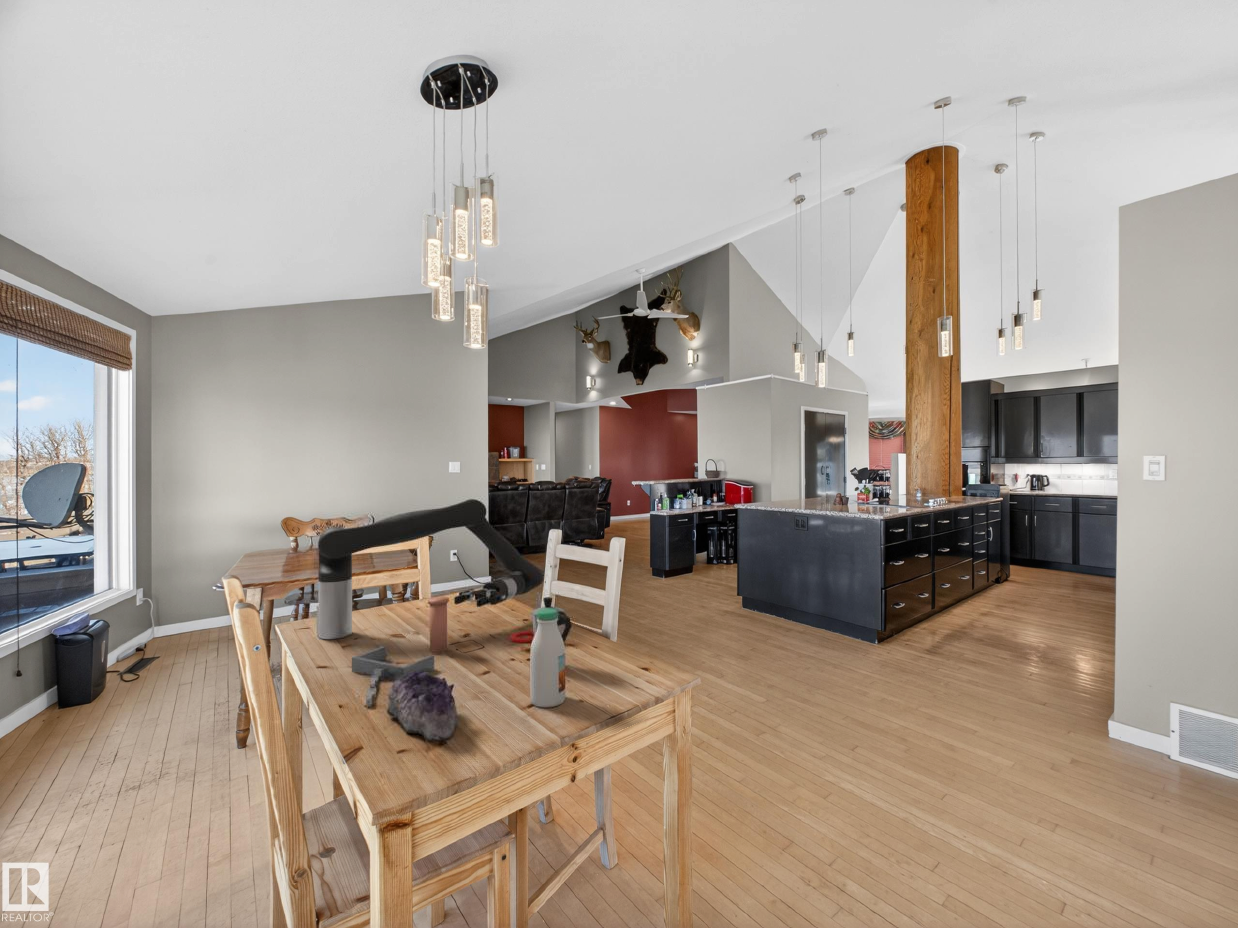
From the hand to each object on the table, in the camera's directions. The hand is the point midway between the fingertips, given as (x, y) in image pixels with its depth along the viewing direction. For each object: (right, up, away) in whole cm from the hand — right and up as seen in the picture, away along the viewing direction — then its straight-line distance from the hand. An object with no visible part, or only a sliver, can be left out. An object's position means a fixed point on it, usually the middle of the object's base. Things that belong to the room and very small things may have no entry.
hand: (466, 602), depth 165 cm
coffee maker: (+28, -11, -24) cm, 39 cm away
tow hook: (+18, -11, +1) cm, 21 cm away
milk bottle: (+30, -11, -43) cm, 54 cm away
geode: (+7, -11, -53) cm, 55 cm away
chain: (-11, -11, -38) cm, 41 cm away
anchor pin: (-5, -11, -10) cm, 16 cm away
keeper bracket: (-12, -11, -25) cm, 30 cm away
